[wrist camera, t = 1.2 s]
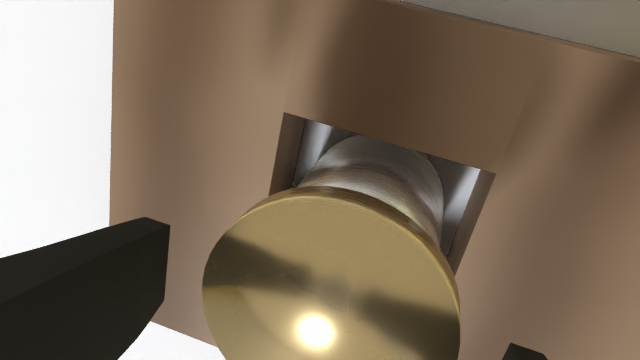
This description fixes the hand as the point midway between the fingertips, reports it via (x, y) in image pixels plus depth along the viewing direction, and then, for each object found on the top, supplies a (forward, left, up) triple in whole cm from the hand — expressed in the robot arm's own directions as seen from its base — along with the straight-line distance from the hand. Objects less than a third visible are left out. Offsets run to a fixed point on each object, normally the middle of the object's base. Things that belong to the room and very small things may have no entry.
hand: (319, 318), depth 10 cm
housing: (0, 0, -6) cm, 6 cm away
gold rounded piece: (0, 0, -6) cm, 6 cm away
